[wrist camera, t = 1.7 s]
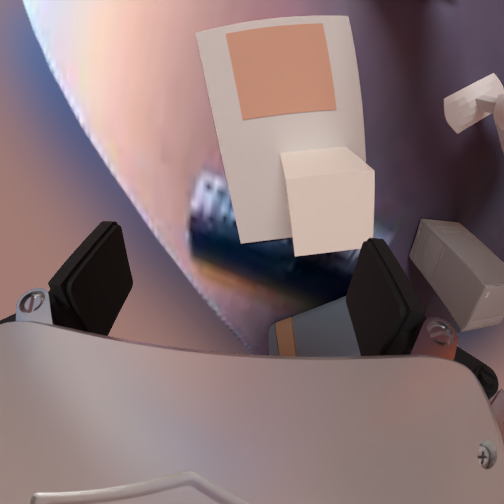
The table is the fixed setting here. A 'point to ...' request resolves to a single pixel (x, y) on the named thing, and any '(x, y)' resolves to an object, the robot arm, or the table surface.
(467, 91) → the heart sculpture
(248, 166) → the mat
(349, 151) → the cream rectangular block
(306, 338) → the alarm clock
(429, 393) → the robot arm
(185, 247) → the table surface
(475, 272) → the skincare box
